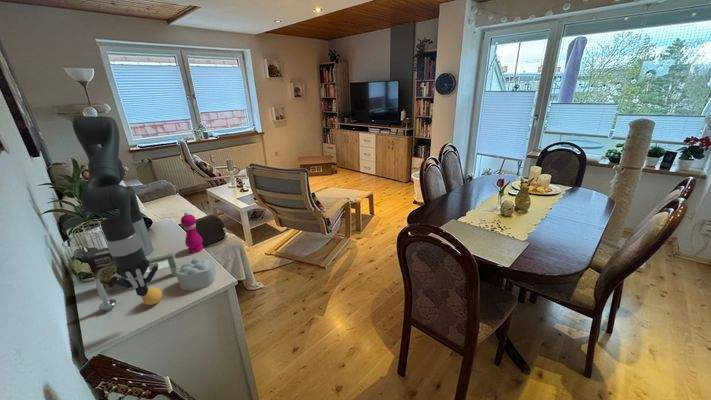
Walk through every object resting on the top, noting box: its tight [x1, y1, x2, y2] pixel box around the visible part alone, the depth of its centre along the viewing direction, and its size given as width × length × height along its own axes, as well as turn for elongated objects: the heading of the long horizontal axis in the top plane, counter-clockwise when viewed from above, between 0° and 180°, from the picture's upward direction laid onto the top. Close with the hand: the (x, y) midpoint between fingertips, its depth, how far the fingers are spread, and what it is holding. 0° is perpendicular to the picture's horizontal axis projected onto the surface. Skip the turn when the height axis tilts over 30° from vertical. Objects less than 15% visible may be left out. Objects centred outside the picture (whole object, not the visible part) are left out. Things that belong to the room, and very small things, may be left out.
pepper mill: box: [180, 211, 204, 254], centre depth 135 cm, size 7×7×20 cm
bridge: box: [137, 251, 179, 279], centre depth 115 cm, size 3×15×10 cm, turn 120°
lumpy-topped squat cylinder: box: [175, 257, 217, 291], centre depth 113 cm, size 10×13×9 cm
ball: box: [141, 286, 163, 306], centre depth 103 cm, size 6×6×6 cm
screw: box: [93, 278, 117, 312], centre depth 100 cm, size 13×5×5 cm
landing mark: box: [145, 252, 176, 274], centre depth 129 cm, size 12×12×1 cm
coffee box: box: [85, 247, 129, 293], centre depth 111 cm, size 9×6×16 cm
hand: (143, 294), depth 93 cm, fingers closed
